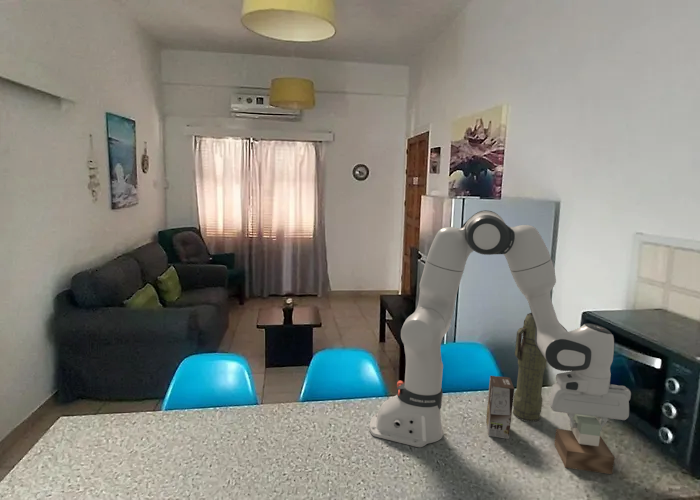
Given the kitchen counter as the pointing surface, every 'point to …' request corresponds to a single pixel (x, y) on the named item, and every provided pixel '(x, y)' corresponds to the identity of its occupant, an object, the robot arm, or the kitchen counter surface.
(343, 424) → the kitchen counter surface
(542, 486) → the kitchen counter surface
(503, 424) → the coffee box
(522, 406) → the thermos
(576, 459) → the walnut stand
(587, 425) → the block
